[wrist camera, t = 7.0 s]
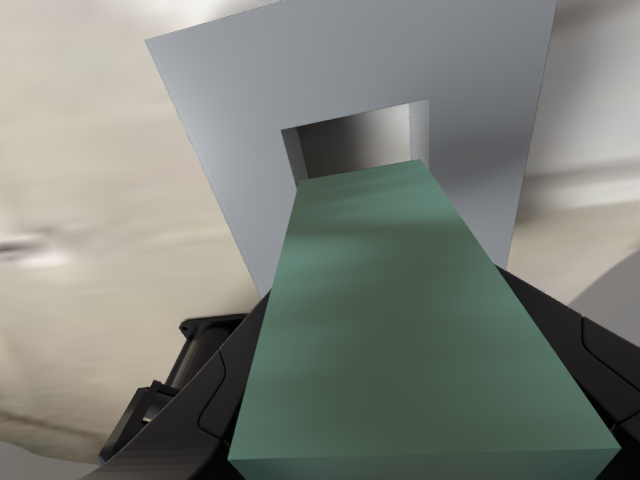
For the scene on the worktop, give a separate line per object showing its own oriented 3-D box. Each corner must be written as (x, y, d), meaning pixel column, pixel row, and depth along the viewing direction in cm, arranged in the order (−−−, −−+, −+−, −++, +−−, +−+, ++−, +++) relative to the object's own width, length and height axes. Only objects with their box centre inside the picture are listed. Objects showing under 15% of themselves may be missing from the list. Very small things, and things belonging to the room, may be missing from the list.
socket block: (275, 264, 22) (264, 304, 18) (189, 39, 14) (144, 39, 11) (476, 236, 19) (504, 277, 16) (506, -48, 12) (572, -81, 8)
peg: (322, 269, 12) (306, 543, 6) (299, 180, 10) (227, 460, 3) (422, 256, 12) (536, 547, 5) (420, 158, 9) (621, 447, 3)
